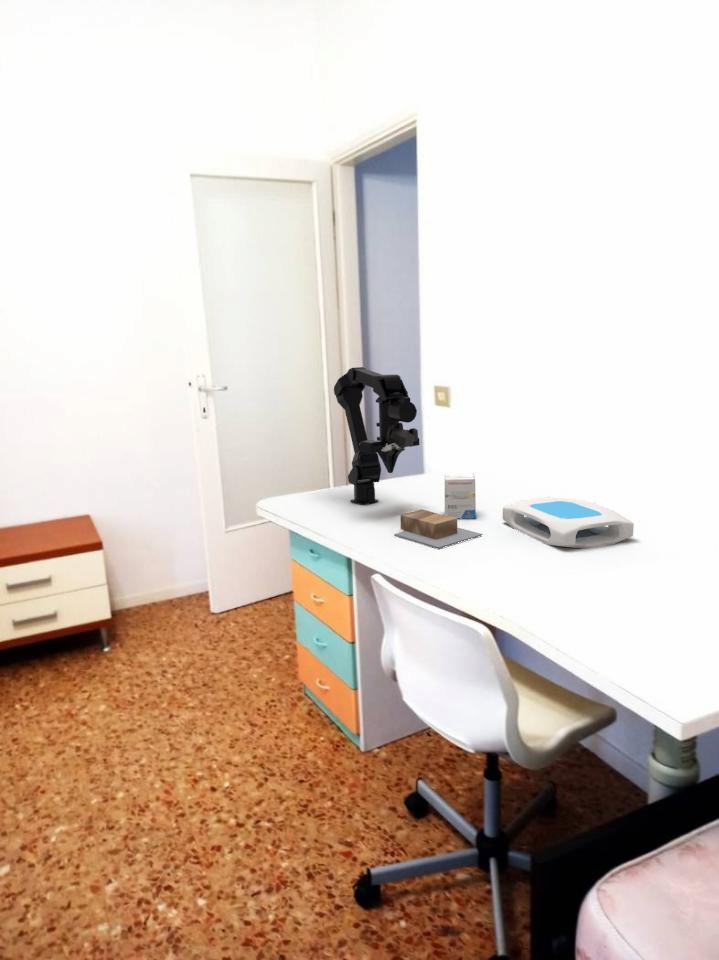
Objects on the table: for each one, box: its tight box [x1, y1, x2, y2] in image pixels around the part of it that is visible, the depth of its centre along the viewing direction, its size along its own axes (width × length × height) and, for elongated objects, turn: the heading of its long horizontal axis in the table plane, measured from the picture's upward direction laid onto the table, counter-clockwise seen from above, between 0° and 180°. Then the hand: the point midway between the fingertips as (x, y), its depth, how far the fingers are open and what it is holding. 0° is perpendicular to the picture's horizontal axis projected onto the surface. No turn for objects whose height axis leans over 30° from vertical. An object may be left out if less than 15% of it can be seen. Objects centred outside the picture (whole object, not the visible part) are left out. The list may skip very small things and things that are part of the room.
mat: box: [394, 526, 484, 550], centre depth 179 cm, size 16×16×1 cm
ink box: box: [444, 472, 477, 520], centre depth 197 cm, size 9×8×12 cm
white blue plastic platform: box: [502, 496, 635, 549], centre depth 179 cm, size 21×28×6 cm
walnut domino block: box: [399, 509, 458, 540], centre depth 182 cm, size 4×8×13 cm
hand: (390, 472), depth 201 cm, fingers closed
